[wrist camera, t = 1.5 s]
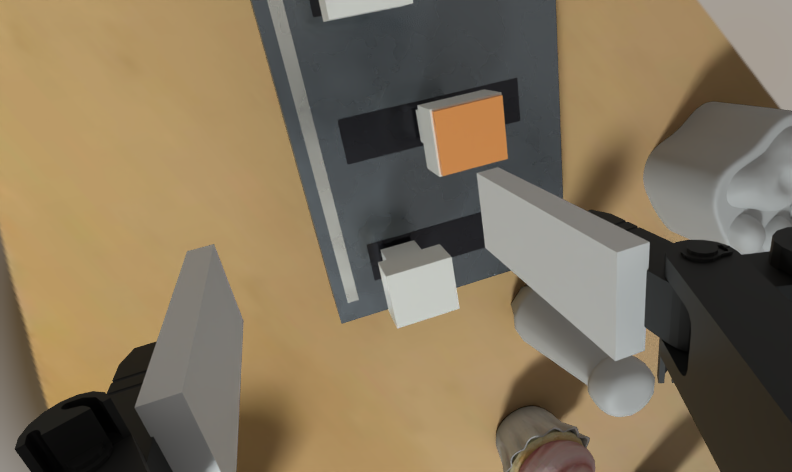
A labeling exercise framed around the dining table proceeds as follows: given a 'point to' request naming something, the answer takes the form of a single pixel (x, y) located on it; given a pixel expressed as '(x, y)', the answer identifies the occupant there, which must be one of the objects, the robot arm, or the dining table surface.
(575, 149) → the dining table surface
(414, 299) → the breaker
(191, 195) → the dining table surface
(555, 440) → the cupcake
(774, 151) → the lumpy-topped squat cylinder
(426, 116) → the block
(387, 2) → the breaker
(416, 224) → the panel
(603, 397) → the salt shaker
